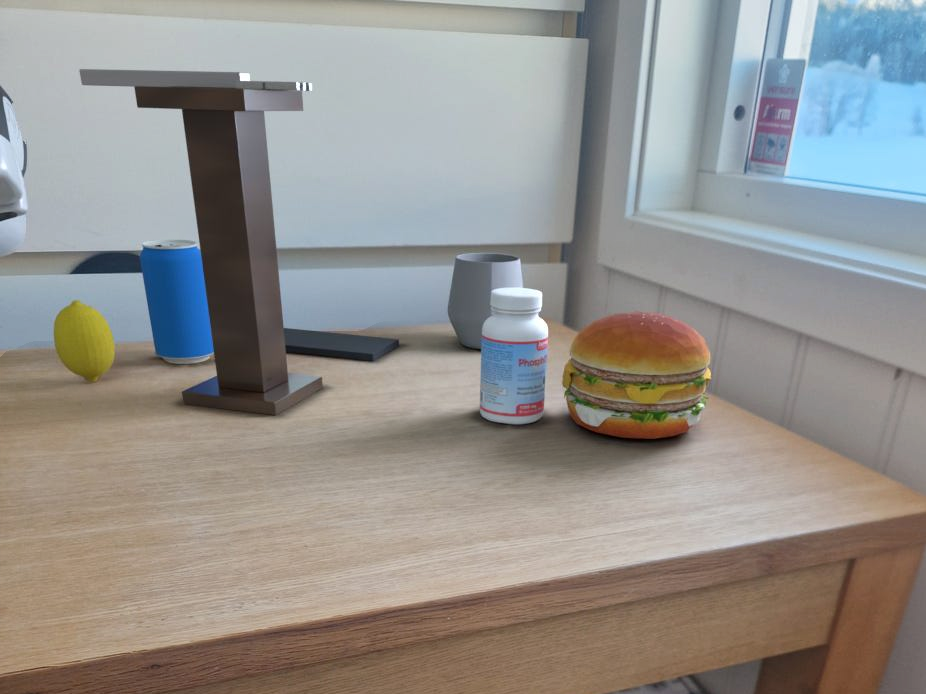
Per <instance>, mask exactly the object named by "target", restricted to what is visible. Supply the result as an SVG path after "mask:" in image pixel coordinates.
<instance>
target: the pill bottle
mask: <svg viewBox="0 0 926 694" xmlns="http://www.w3.org/2000/svg"><path fill="white" fill-rule="evenodd" d="M490 305H491V309H492V310H493V316H491V317H489V318H488V319H487V320H486V321H485V322H484V324H483V327H482V343H481V349H480V384H479V386H480V387H479V390H480V391H479V413H480V415H481V417H482V418H484V419H486V420H488V421H490V422H493V423H499V424H505V425H506V424H507V425H527V424H530V423H531V424H532V423H534V422H537V421H539V420H541V418H542V417H543V415H544V411H545V409H544V408H545V396H546V395H545V394H546V377H547V361H548V346H549V345H548V344H549V328H548V324H547V323H546V321H545V320H544V319H543V318H541V317H539V312H541V311H542V307H543V292H542V291H541V290H538V289H534V288H528V287H527V288H526V287H523V288H499V289H494V290H492V291H491V301H490Z"/></svg>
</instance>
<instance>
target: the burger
mask: <svg viewBox="0 0 926 694" xmlns="http://www.w3.org/2000/svg"><path fill="white" fill-rule="evenodd" d="M569 356H570V358H569V359H568V361H567V362H566V364H565V365H564V369H563V373H562V381H561V384H562V387H563V388H564V389H566V390H565V391H564V395H563V399H566V405H567V409H568V412H569V413H570V416H571V418H572V419H573V421H574V422H575V423H576V424H577V425H578V426H581V427H583V428H585V429H587V430H589V431H592V432H595V433H597V434H602V435H608V436H614V437H618V438H621V439H622V438H623V439H644V440H645V439H648V440H649V439H650V440H653V439H662V438H668V437H674V436H677V435H681V434H683V433H686V432H688V431H689V430H690V429H691V428H692V427H694V425H695V424H697V423H698V422H699V421H700V420H701V416H702V414H703V411H704V410H705V409H706V404H707V400H709V397H707V395H706V394H705V391H706V388H707V386H708V385H709V381H711V380H712V377H711V376H712V373H711V370H710V369H709V368H708V367H709V365H710V364H711V353H710V349H709V346H708V343H707V342H706V340H705V339H704V337H703V336H702V335H701V334H700V333H699V332H698V331H697V330H695V329H694V328H693V327H692V326H691V325H689V324H687V323H685V322H684V321H682V320H680V319H677V318H675V317H672V316H669V315H665V314H661V313H657V312H649V311H647V312H646V311H629V312H620V313H614V314H610V315H607V316H603V317H601V318H599V319H596V320H594V321H592V322H591V323H590V324H588V325H587V326H585V327H583V329H581V330H580V331H579V332H578V334H577V335H576V336H575V337H574V339H572V342H571V345H570V347H569Z"/></svg>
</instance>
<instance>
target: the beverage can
mask: <svg viewBox="0 0 926 694" xmlns="http://www.w3.org/2000/svg"><path fill="white" fill-rule="evenodd" d="M141 246H142V250H141V252H140V254H139V261H140V262H139V263H140V267H141V273H142V279H143V286H144V291H145V296H146V297H145V299H146V303H147V309H148V316H149V321H150V322H149V323H150V327H151V333H152V339H153V345H154V353H155V355H156V356H157V357H159V358H162V360H163V362H166V363H169V364H175V365H191V364H198V363H202V362H206V361H208V360H209V359H210V357H211V355H214V349H213V342H212V334H211V327H210V319H209V311H208V304H207V296H206V289H205V281H204V274H203V266H202V258H201V251H200V248H198V242H196V240H195V241H194V240H190V239H189V240H188V239H155V240H154V239H153V240H147V241H143V242H142V243H141Z"/></svg>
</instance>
